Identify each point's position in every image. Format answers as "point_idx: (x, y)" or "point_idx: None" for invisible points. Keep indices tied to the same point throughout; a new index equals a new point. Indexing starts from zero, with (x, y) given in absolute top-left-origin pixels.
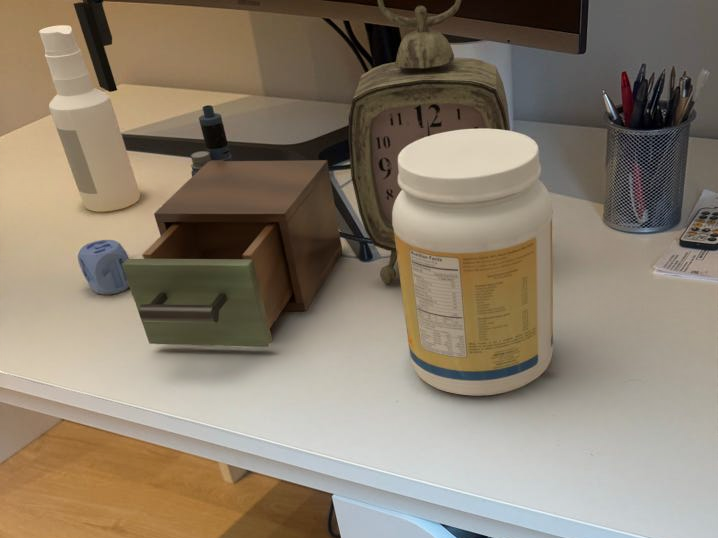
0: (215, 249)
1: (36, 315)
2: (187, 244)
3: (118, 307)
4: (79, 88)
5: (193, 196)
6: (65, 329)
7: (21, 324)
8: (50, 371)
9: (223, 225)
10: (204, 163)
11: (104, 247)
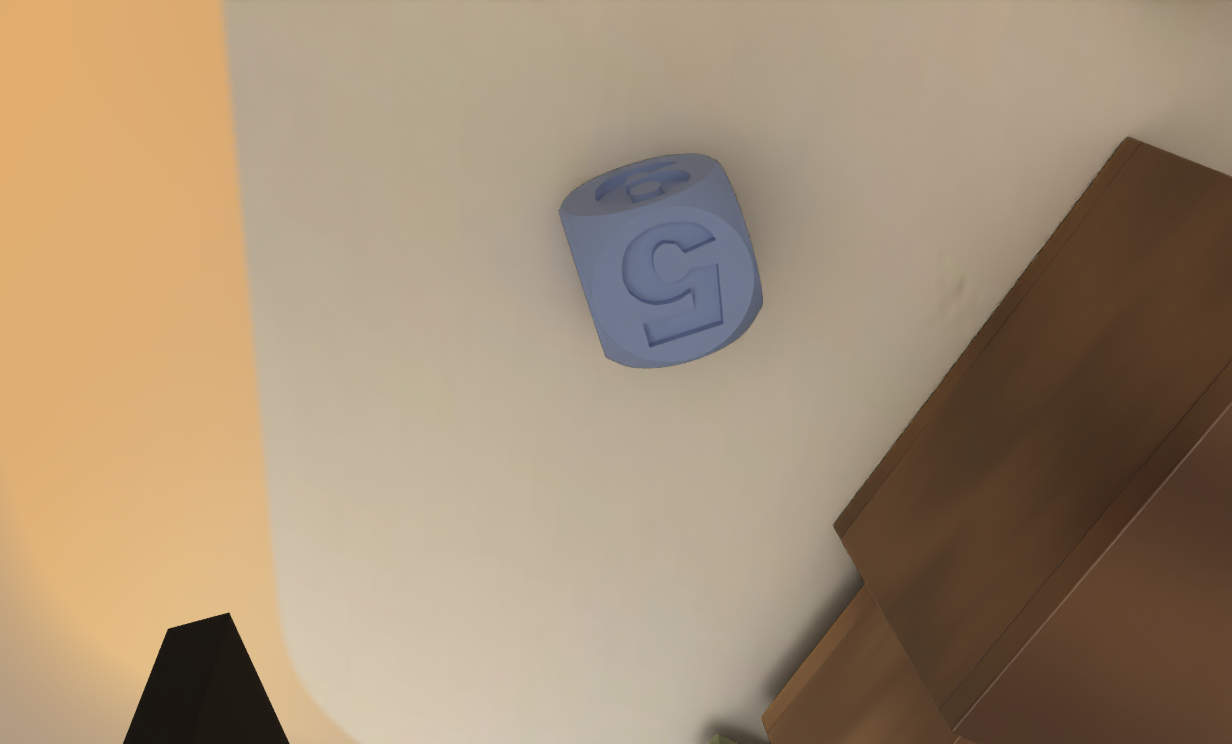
0: None
1: (351, 347)
2: None
3: (640, 416)
4: None
5: (1136, 638)
6: (454, 498)
7: (298, 396)
8: (404, 729)
9: None
10: None
11: (692, 268)
